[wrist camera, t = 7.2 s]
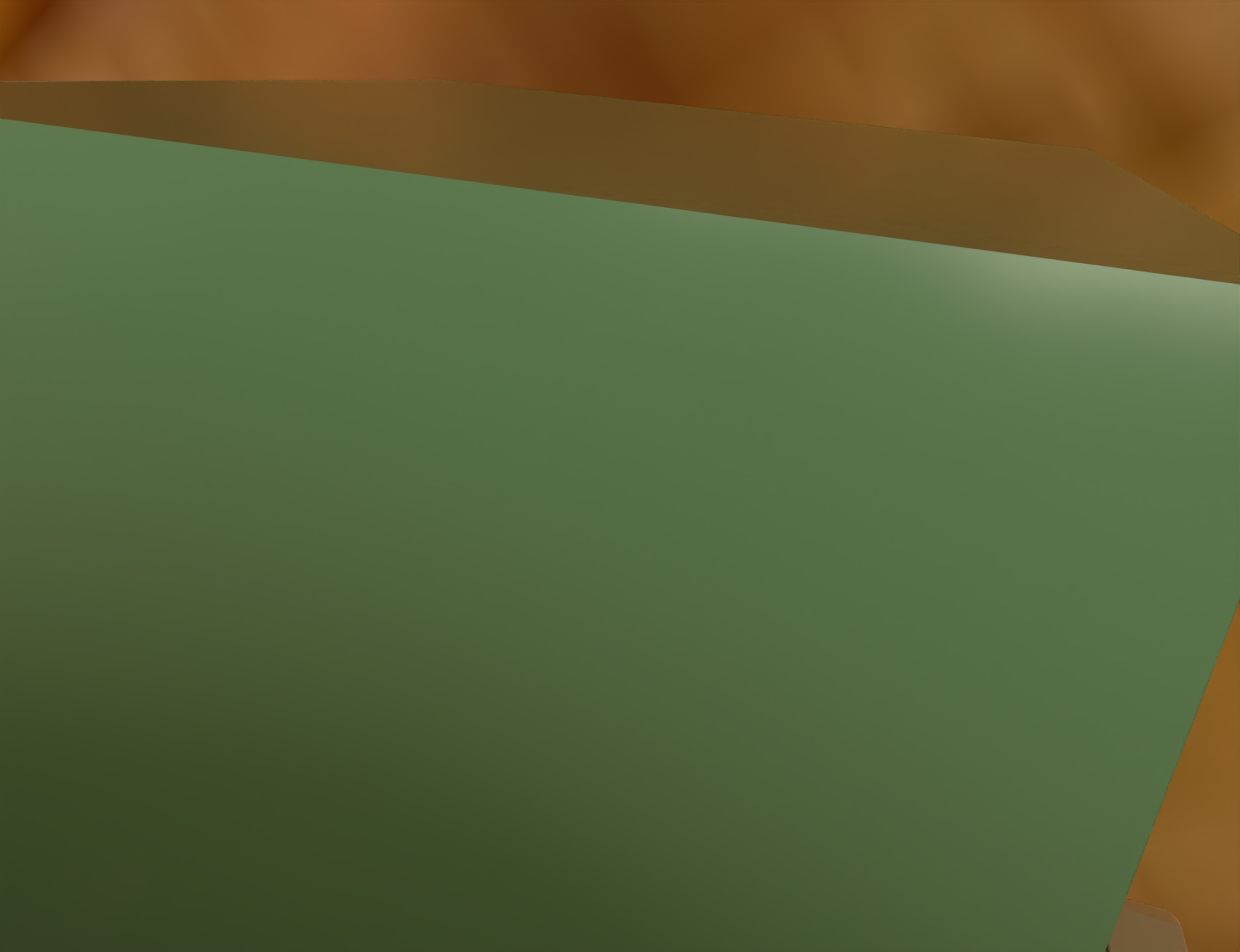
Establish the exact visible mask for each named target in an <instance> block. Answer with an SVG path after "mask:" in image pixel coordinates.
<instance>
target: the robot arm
mask: <svg viewBox="0 0 1240 952" xmlns="http://www.w3.org/2000/svg"><path fill="white" fill-rule="evenodd" d="M1105 952H1188V950H1187V946H1186V942H1185V938H1184V935H1183V931H1182V927H1181V923H1180V922H1179V921H1178V919H1177V918H1176V917H1175V916H1174V915H1173V913H1172V912H1171V911H1170V910H1167V909H1163V908H1160V907H1156V906H1152V905H1148V904H1144V903H1140V902H1136V901H1132V900H1129V899H1125V900H1124V903H1123V906H1122V908H1121V911H1120V914H1119V916H1118V919H1117V921H1116V924H1115V927H1114V929H1113V932H1112V934H1111V937H1110V940H1109V942H1108V945H1107V948H1106V950H1105Z"/></svg>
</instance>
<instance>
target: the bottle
mask: <svg viewBox="0 0 1240 952" xmlns="http://www.w3.org/2000/svg"><path fill="white" fill-rule="evenodd" d="M1239 600H1240V234H1238V233H1236V232H1234V231H1232V230H1231V229H1229V228H1227V227H1225V226H1224V225H1222V224H1220V223H1218V222H1217V221H1215V220H1213V219H1211V218H1210V217H1208V216H1206V215H1204V214H1203V213H1201V212H1199V211H1197V210H1196V209H1194V208H1192V207H1190V206H1189V205H1187V204H1185V203H1183V202H1182V201H1180V200H1178V199H1176V198H1175V197H1173V196H1171V195H1169V194H1168V193H1166V192H1164V191H1162V190H1161V189H1159V188H1157V187H1155V186H1154V185H1152V184H1150V183H1148V182H1147V181H1145V180H1143V179H1141V178H1140V177H1138V176H1136V175H1134V174H1133V173H1131V172H1129V171H1127V170H1126V169H1124V168H1122V167H1120V166H1119V165H1117V164H1115V163H1113V162H1112V161H1110V160H1108V159H1106V158H1104V157H1103V156H1101V155H1099V154H1097V153H1096V152H1094V151H1092V150H1090V149H1084V148H1074V147H1065V146H1056V145H1046V144H1037V143H1028V142H1018V141H1009V140H1000V139H990V138H981V137H972V136H962V135H953V134H944V133H934V132H925V131H915V130H906V129H897V128H887V127H878V126H869V125H859V124H850V123H841V122H831V121H822V120H813V119H803V118H794V117H785V116H775V115H766V114H756V113H747V112H738V111H728V110H719V109H710V108H700V107H691V106H682V105H672V104H663V103H654V102H644V101H635V100H626V99H616V98H607V97H597V96H588V95H579V94H569V93H560V92H551V91H541V90H532V89H523V88H513V87H504V86H495V85H485V84H476V83H466V82H457V81H448V80H246V81H41V82H0V952H1105V950H1106V948H1107V945H1108V942H1109V940H1110V937H1111V934H1112V932H1113V929H1114V927H1115V924H1116V921H1117V919H1118V916H1119V914H1120V911H1121V908H1122V906H1123V903H1124V900H1125V898H1126V895H1127V893H1128V890H1129V887H1130V885H1131V882H1132V880H1133V877H1134V874H1135V872H1136V869H1137V866H1138V864H1139V861H1140V859H1141V856H1142V853H1143V851H1144V848H1145V846H1146V843H1147V840H1148V838H1149V835H1150V832H1151V830H1152V827H1153V825H1154V822H1155V819H1156V817H1157V814H1158V811H1159V809H1160V806H1161V804H1162V801H1163V798H1164V796H1165V793H1166V791H1167V788H1168V785H1169V783H1170V780H1171V777H1172V775H1173V772H1174V770H1175V767H1176V764H1177V762H1178V759H1179V757H1180V754H1181V751H1182V749H1183V746H1184V743H1185V741H1186V738H1187V736H1188V733H1189V730H1190V728H1191V725H1192V723H1193V720H1194V717H1195V715H1196V712H1197V709H1198V707H1199V704H1200V702H1201V699H1202V696H1203V694H1204V691H1205V689H1206V686H1207V683H1208V681H1209V678H1210V675H1211V673H1212V670H1213V668H1214V665H1215V662H1216V660H1217V657H1218V654H1219V652H1220V649H1221V647H1222V644H1223V641H1224V639H1225V636H1226V634H1227V631H1228V628H1229V626H1230V623H1231V620H1232V618H1233V615H1234V613H1235V610H1236V607H1237V605H1238V602H1239Z"/></svg>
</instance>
